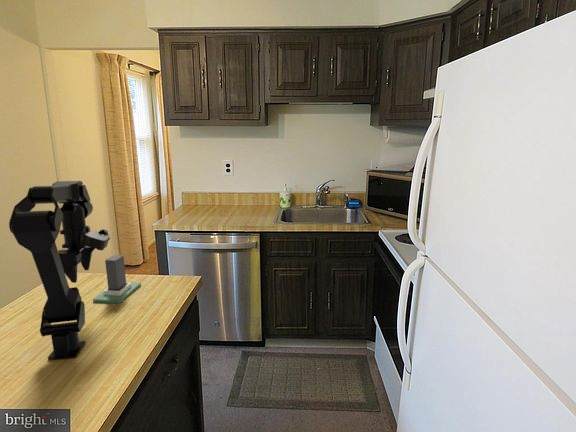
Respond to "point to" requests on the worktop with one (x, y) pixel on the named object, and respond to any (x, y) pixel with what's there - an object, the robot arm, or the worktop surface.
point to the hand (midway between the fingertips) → (80, 276)
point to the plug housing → (115, 272)
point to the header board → (117, 294)
